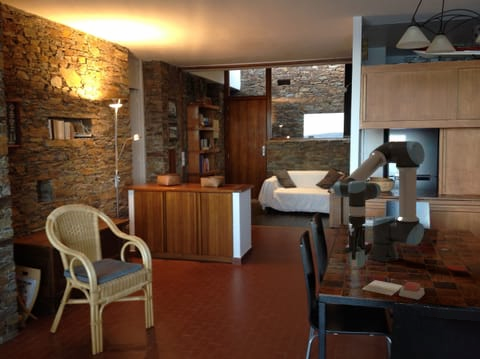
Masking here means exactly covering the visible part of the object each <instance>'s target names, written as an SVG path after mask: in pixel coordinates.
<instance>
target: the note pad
mask: <svg viewBox="0 0 480 359" xmlns="http://www.w3.org/2000/svg"><path fill="white" fill-rule="evenodd" d="M402 287H404V285H401V284H397V283H392V282H387V281H380V280H375V279H374V280H373V281H372V282H370V283H368V284H367V285H365V286H364V287H362V290H363V291H367V292H371V293H378V294H382V295H387V296H390V297H391V296H393V295H394V294H395V293H397V292H398V291H400V289H401V288H402Z"/></svg>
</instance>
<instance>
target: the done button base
mask: <svg viewBox="0 0 480 359" xmlns="http://www.w3.org/2000/svg"><path fill="white" fill-rule="evenodd" d="M424 295H425V288H424V287H420V288H419V289H418V290H417V291H412V290H407V289H404V286H403V287H402V288H401V289H399V292H398V296H400V297H404V298H408V299H413V300H414V299H415V300H418V301H419V300H420V299H422V297H423V296H424Z"/></svg>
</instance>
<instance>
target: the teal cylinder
mask: <svg viewBox="0 0 480 359" xmlns="http://www.w3.org/2000/svg"><path fill="white" fill-rule="evenodd" d="M357 253H358V267H357V268H362V267H364V266H365V265H366V264H365V263H366V262H365V261H366V258H365V255H366V254H365V253H366V252H365V250H361V247H357ZM349 266H350V267H354V266H351V252H350V253H349ZM354 268H355V267H354Z"/></svg>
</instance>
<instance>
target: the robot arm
mask: <svg viewBox="0 0 480 359" xmlns="http://www.w3.org/2000/svg"><path fill="white" fill-rule="evenodd" d="M425 154H426V153H425V149H424V146H423V145H422V144H421V143H420V142H419V141H416V140H415V141H414V140H401V141H399V140H397V141H395V140H394V141H388V142H385V143H382V144H380V145H378V146H377V147H376V148H375V149H373V150H372V151H371V152H370V153H369V155H368V157H367V158H366V159H365V160H364V161H363V162H362V163H361V164H360V165H359V166H358V167H357V168H356V169H355V170H354V171H353V172H352V173H350V175H349V176H347V178H345V179H344V180H338V181H335V183H334V184H333V193H334V195H335V196H337V197H341V198H348V207H347V209H348V223H349V224H350V225H351V230H347V234H348V244H349V252H351V266H350V267H353V266H354V268H359V267H358V253H357V246H358V247H361V250H363V249H364V250H365V248H364V247H365V228H366V229H367V227H366V226H365V225H366V223H367V222H366V221H367V220H366V218H367V217H366V214H367V210H366V209H367V208H366V206H367V205H366V201H370V200H374V199H377V198H379V197H380V195H381V194H382V188H381V186H380V184H378V183H377V182H369V183H367V180H368V179H369V178H370V177H371V176H373V174H374V173H375V172H377V171H378V170H379V168H382V167H384V166H385V165H387V164H395V168H396V169H397V170H398V216H397V217H395V216H391V215H390V216H378V217H375V218H374V219H373V221H372V245H371V247H370V249H369V250H370V251H369V253H368V254H369V257H368V258H369V259H370V260H373V261H376V262H381V263H382V262H383V263H385V262H386V263H391V262H397V261H398V260H399V253H398V251H397V248H396V245H395V244H396V243H399V244H405V245H410V246H416V245H418V244H420V243H421V241H422V240H423V237H424V235H425V234H424V233H425V227H424V224H423V223H421V222H420V218H419V216H417V177H418V176H417V174H418V172H417V171H418V170H419V169H420V168H421V166H420V165H422V164H423V163H424V162H425ZM349 252H348V253H349Z"/></svg>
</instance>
